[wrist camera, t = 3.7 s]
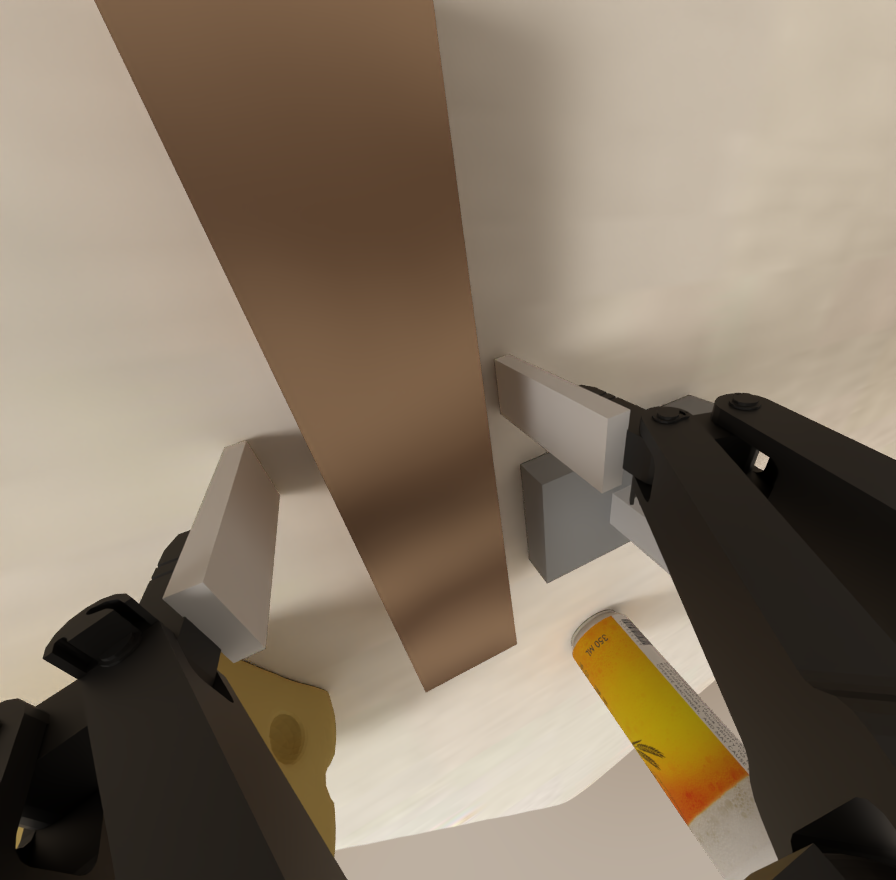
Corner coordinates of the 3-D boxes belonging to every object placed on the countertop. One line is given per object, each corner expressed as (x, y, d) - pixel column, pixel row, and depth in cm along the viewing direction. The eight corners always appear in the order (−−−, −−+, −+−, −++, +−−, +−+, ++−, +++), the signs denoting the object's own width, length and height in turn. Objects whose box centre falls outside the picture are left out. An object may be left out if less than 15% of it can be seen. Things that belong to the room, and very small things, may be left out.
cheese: (334, 687, 21) (355, 961, 13) (188, 794, 21) (111, 1151, 12) (188, 624, 15) (52, 1058, 7) (-24, 772, 15) (-442, 1430, 6)
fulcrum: (520, 464, 18) (645, 582, 11) (689, 394, 21) (871, 458, 14) (529, 559, 22) (624, 685, 16) (668, 492, 25) (801, 575, 18)
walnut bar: (136, -7, 8) (-62, -326, 3) (353, -15, 9) (398, -263, 5) (400, 604, 20) (425, 692, 16) (475, 569, 21) (516, 644, 17)
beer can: (554, 654, 30) (728, 925, 18) (590, 605, 29) (809, 868, 16) (596, 649, 33) (769, 878, 21) (631, 605, 32) (842, 827, 19)
